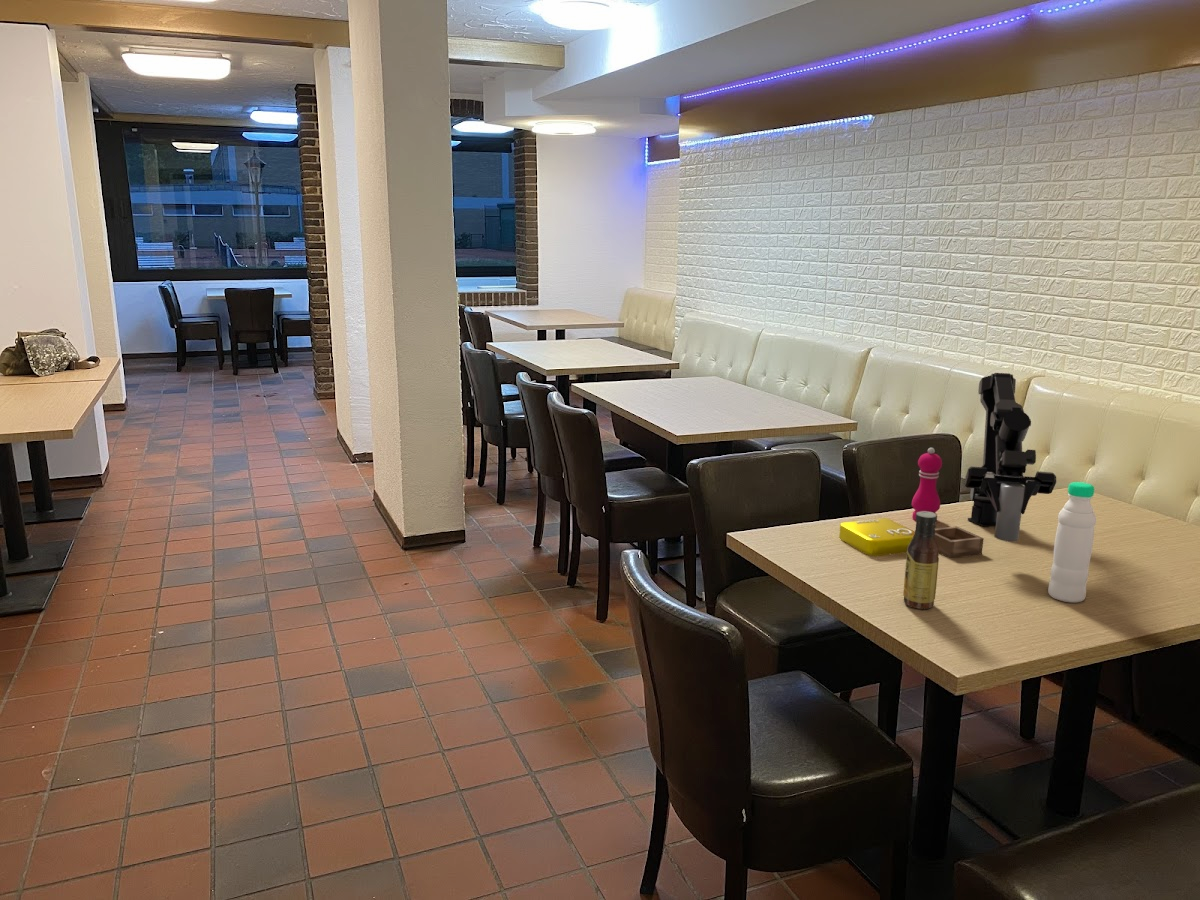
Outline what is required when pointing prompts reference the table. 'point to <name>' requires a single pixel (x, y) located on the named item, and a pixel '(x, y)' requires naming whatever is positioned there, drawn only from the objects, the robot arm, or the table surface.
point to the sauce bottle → (922, 563)
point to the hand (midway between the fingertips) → (1010, 512)
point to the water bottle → (1073, 545)
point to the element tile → (876, 536)
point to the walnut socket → (958, 542)
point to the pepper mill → (927, 484)
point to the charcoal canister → (1009, 511)
